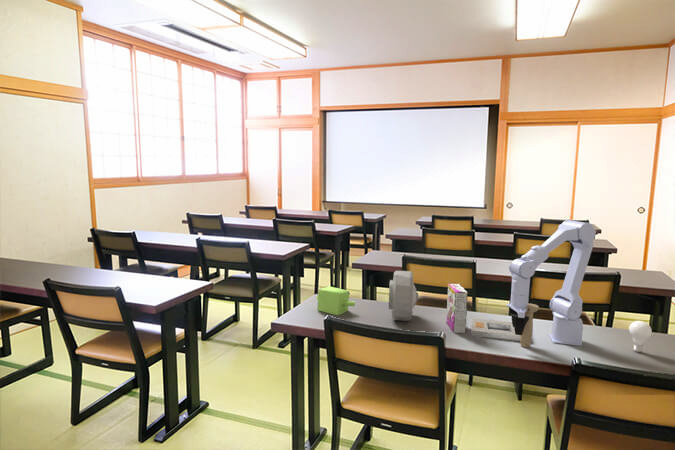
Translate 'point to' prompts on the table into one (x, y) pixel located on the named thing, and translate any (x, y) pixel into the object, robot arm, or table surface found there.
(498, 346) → the table surface
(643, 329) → the lightbulb
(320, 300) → the gearbox
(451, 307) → the candy bar box
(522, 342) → the handle
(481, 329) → the rack plate
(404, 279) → the dial
